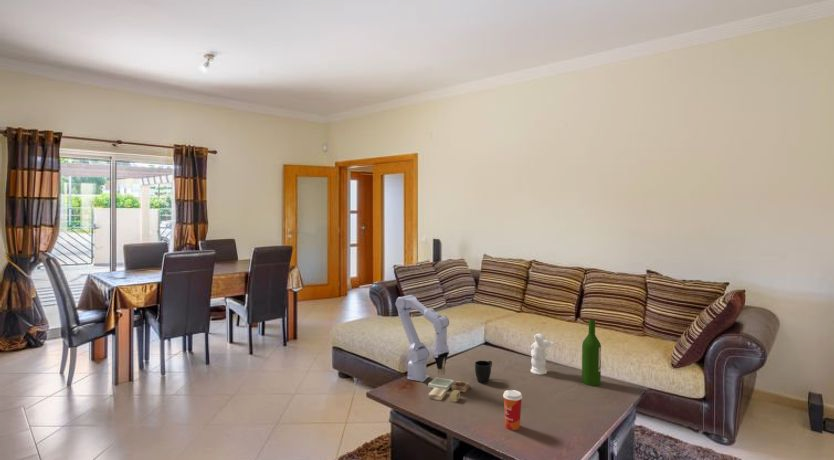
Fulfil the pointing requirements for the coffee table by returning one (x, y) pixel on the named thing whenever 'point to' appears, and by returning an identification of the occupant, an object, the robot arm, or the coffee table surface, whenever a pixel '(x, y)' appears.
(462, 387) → the socket block
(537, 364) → the cherub figurine
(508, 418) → the paper cup
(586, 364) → the wine bottle
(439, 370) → the dowel
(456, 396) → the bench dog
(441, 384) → the tray
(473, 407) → the coffee table surface
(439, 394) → the beige rectangular box
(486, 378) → the mug
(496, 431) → the coffee table surface
